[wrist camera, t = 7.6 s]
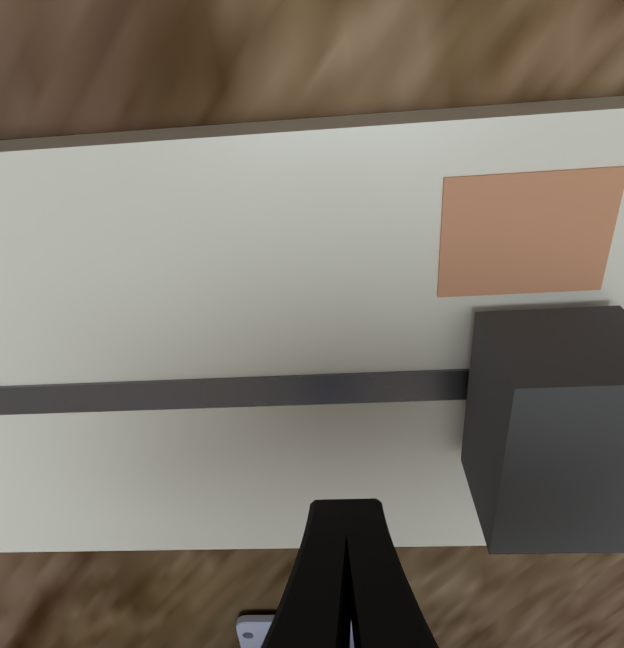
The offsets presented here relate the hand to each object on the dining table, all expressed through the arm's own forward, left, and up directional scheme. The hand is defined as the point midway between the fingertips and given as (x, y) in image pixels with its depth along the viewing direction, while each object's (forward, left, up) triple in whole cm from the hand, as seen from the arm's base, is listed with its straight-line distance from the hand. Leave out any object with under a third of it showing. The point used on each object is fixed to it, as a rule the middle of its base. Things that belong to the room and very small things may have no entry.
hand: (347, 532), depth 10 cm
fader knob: (0, -5, -4) cm, 7 cm away
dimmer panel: (0, +1, -7) cm, 7 cm away
